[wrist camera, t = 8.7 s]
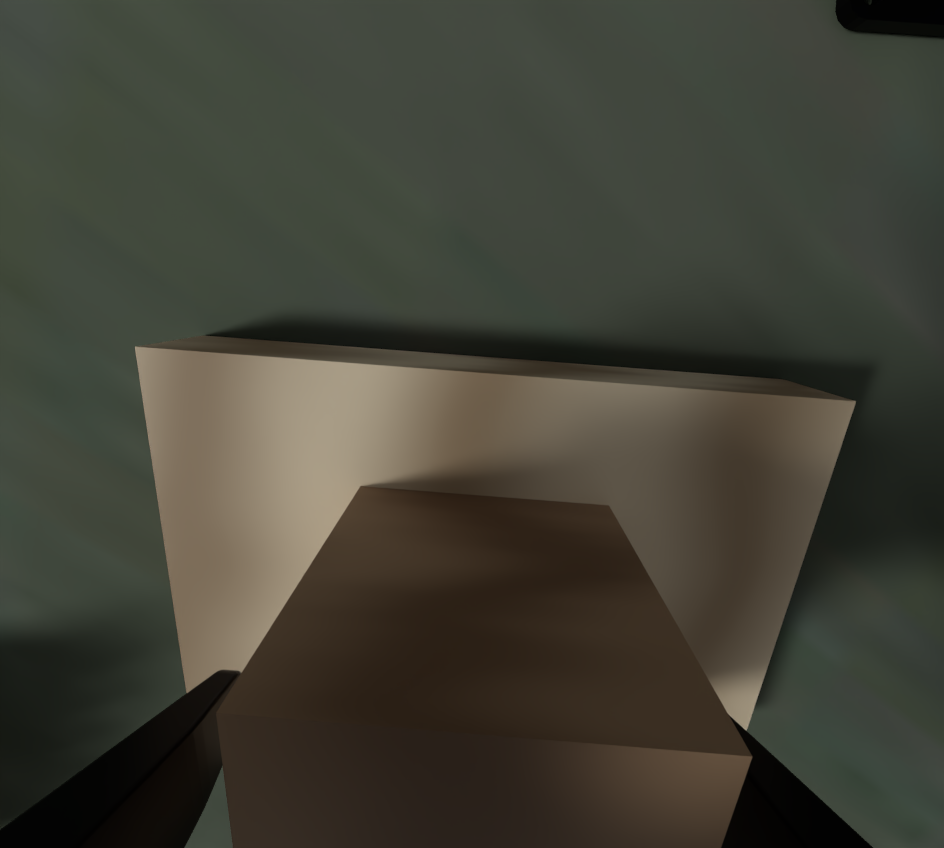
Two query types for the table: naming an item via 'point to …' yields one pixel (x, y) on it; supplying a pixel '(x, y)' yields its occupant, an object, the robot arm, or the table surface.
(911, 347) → the table surface
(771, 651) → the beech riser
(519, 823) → the walnut cube
